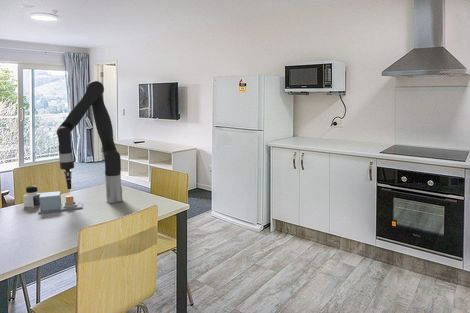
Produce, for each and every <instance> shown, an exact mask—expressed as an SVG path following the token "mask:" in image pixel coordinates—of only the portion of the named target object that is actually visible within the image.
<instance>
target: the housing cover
mask: <svg viewBox="0 0 470 313" xmlns="http://www.w3.org/2000/svg"><path fill="white" fill-rule="evenodd" d="M39 193H40V196H39V200H40V205H39V208H40V211H47V210H55V209H61V204H62V198H61V197H62V196H61V191H57V190H56V191H49V192H48V191H47V192H39Z"/></svg>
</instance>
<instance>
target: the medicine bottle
mask: <svg viewBox="0 0 470 313" xmlns="http://www.w3.org/2000/svg"><path fill="white" fill-rule="evenodd" d="M25 190H26V194H24V195H22V199H23V207H24V208H37V207H40V200H39V196H40V193H41V192H39V191H38V186H37V185H29V186H27V187H25Z"/></svg>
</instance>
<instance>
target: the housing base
mask: <svg viewBox="0 0 470 313" xmlns="http://www.w3.org/2000/svg"><path fill="white" fill-rule="evenodd" d="M81 209H83V202H82V201H74V205H66V202H63V203H61V209H55V210H47V211H40V207H38V213H37V214H38V215H40V214H49V213H57V212H58V211H59V212H65V211H67V212H68V211H73V210H81Z"/></svg>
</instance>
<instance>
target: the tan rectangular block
mask: <svg viewBox="0 0 470 313" xmlns="http://www.w3.org/2000/svg"><path fill="white" fill-rule="evenodd" d="M74 202H75V201H74V194H67V195H65V203H66V205H74Z"/></svg>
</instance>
